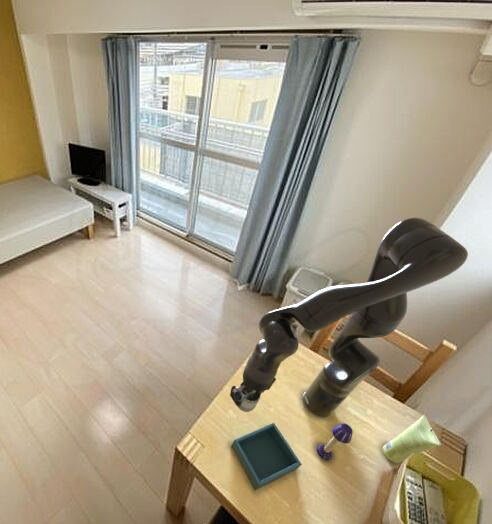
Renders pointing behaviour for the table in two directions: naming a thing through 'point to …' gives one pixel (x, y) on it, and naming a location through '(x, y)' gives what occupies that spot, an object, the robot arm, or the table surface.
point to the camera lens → (249, 402)
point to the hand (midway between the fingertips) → (246, 399)
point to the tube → (411, 441)
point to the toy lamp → (335, 440)
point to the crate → (265, 456)
